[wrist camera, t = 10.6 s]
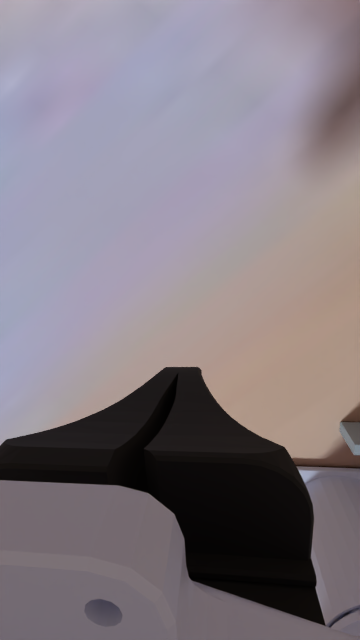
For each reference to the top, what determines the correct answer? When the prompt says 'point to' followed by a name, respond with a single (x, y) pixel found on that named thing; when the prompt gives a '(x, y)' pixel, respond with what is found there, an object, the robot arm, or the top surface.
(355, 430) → the tray
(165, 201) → the top surface
